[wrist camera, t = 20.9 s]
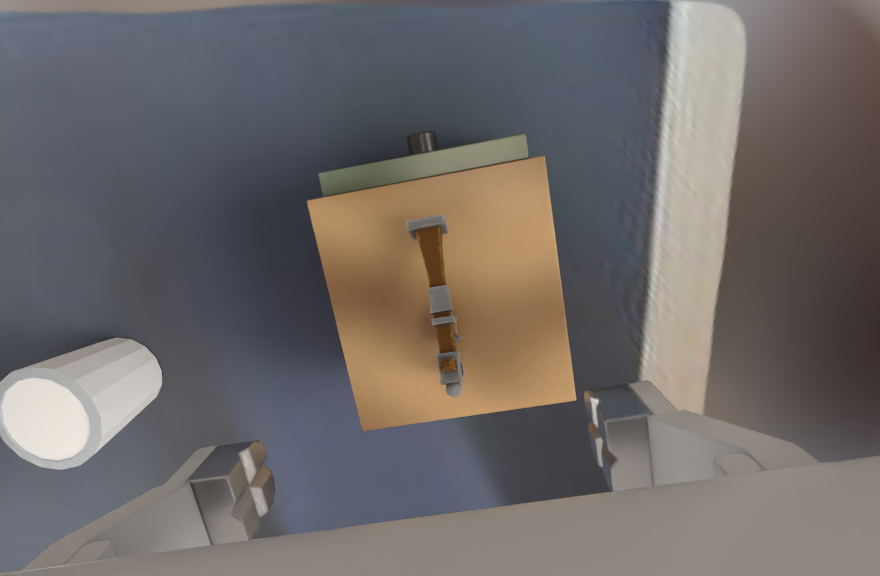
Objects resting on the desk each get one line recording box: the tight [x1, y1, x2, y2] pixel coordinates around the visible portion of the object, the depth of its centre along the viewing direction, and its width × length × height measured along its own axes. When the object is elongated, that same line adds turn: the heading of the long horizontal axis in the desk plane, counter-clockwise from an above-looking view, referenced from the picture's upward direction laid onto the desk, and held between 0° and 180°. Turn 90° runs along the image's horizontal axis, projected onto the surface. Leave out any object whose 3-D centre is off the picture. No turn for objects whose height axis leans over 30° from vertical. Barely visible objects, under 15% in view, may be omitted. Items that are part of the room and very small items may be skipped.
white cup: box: [0, 337, 162, 470], centre depth 32 cm, size 7×7×7 cm
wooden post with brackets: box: [405, 214, 465, 397], centre depth 23 cm, size 2×8×4 cm, turn 11°
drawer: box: [318, 131, 529, 197], centre depth 28 cm, size 13×10×7 cm
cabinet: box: [307, 156, 576, 431], centre depth 28 cm, size 13×12×9 cm
